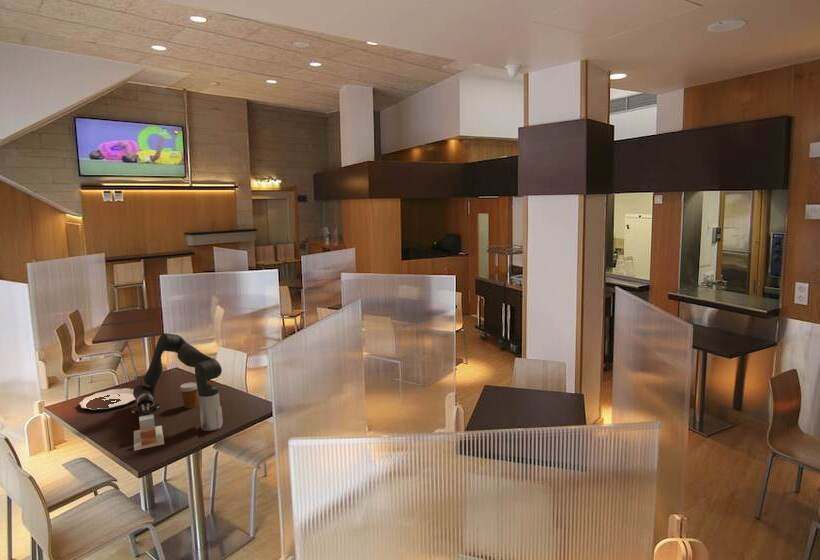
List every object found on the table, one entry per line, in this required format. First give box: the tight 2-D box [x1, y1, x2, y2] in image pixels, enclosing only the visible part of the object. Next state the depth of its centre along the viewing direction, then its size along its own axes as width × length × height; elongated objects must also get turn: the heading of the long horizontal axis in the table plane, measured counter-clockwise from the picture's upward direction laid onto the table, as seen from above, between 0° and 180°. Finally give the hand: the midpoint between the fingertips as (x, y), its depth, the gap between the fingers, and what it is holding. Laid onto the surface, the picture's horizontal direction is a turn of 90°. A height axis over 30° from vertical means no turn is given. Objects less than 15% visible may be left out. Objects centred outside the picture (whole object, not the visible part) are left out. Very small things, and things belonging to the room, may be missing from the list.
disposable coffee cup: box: [179, 381, 199, 409], centre depth 275 cm, size 10×10×12 cm
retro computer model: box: [138, 413, 156, 431], centre depth 238 cm, size 6×6×9 cm
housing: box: [133, 425, 165, 451], centre depth 237 cm, size 22×12×2 cm, turn 28°
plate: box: [78, 387, 137, 411], centre depth 285 cm, size 29×29×2 cm
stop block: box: [140, 428, 156, 445], centre depth 231 cm, size 2×6×6 cm, turn 118°
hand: (146, 415), depth 247 cm, fingers closed
